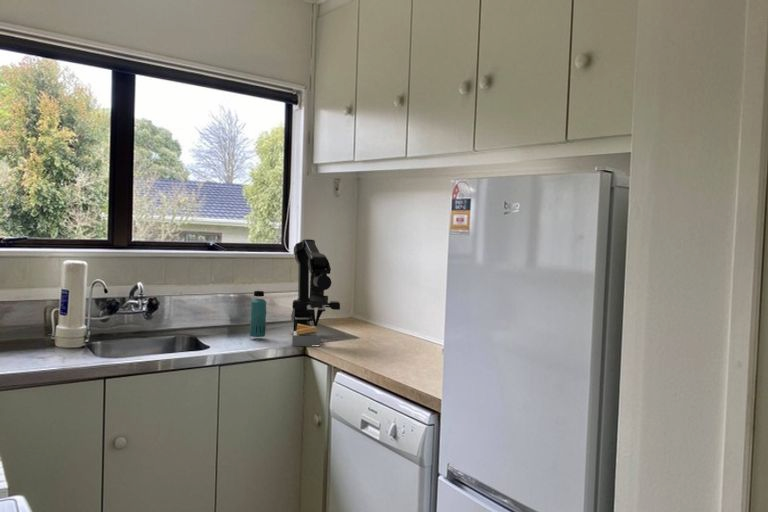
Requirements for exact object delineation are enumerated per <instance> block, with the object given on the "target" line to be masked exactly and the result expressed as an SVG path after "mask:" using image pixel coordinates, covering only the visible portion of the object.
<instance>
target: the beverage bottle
mask: <svg viewBox="0 0 768 512" xmlns="http://www.w3.org/2000/svg"><path fill="white" fill-rule="evenodd" d="M253 296H254V297H265V291H263V290H254V292H253ZM266 318H267V301H266V300H265V298H253V299H252V300H251V301H250V319H249V323H250V324H249V336H250V337H253V338H262V337H265V336H266V330H267V328H266V327H267V326H266V323H267V321H266Z"/></svg>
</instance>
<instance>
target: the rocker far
mask: <svg viewBox="0 0 768 512" xmlns="http://www.w3.org/2000/svg"><path fill="white" fill-rule="evenodd" d="M309 327H312V325H311V326H307V325H302V324H297V329H303V328H309ZM316 332H317V331H316ZM316 332H315V333H316Z"/></svg>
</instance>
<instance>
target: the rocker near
mask: <svg viewBox="0 0 768 512" xmlns="http://www.w3.org/2000/svg"><path fill="white" fill-rule="evenodd" d="M296 332H297V335H299V334H305V333H310V332H318V328H317V326H314V325H313V326H311V327H309V328H303V329H298V330H296Z"/></svg>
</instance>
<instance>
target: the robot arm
mask: <svg viewBox="0 0 768 512" xmlns="http://www.w3.org/2000/svg"><path fill="white" fill-rule="evenodd" d="M293 255H294V259H295V261H296V263H297V264H298V280H297V281H298V282H297V283H298V285H297V286H298V289H297V290H298V292H297V293H298V294H297V299H293V301H292V312H291V314H290V317H291V318H290V319H291V321H292V322H293V329H292V330H293V331H296V330H298V329H297V324H302V325H307V326H311V327H312V325H311V323H310V322H313V327H314V326H316V327H317V326H318V323H319V320H320V318H321V316H322V313H323V312H326V309H327V308H330V309H331V310H334V311H335V310H337V311H338V310H341V303H340V301H339V300H330V301H329V295H325V291H327V290H329V288H331V286H332V279H331V277H329V276H328V274H329V275H330V274H331V270H332V269H331V265H330V262H329V259H328V258H327V256H326V255H325V254H323V253H321V252H320V251H319V249H318V247H317V245H316V240H315V239H311V238H310V239H308V238H304V239H302V240H301V241H299V242H297V243H295V245H294V247H293ZM315 308H316V309H317V311H316V312H315ZM293 331H292V333H291V335H292V336H293Z"/></svg>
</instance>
